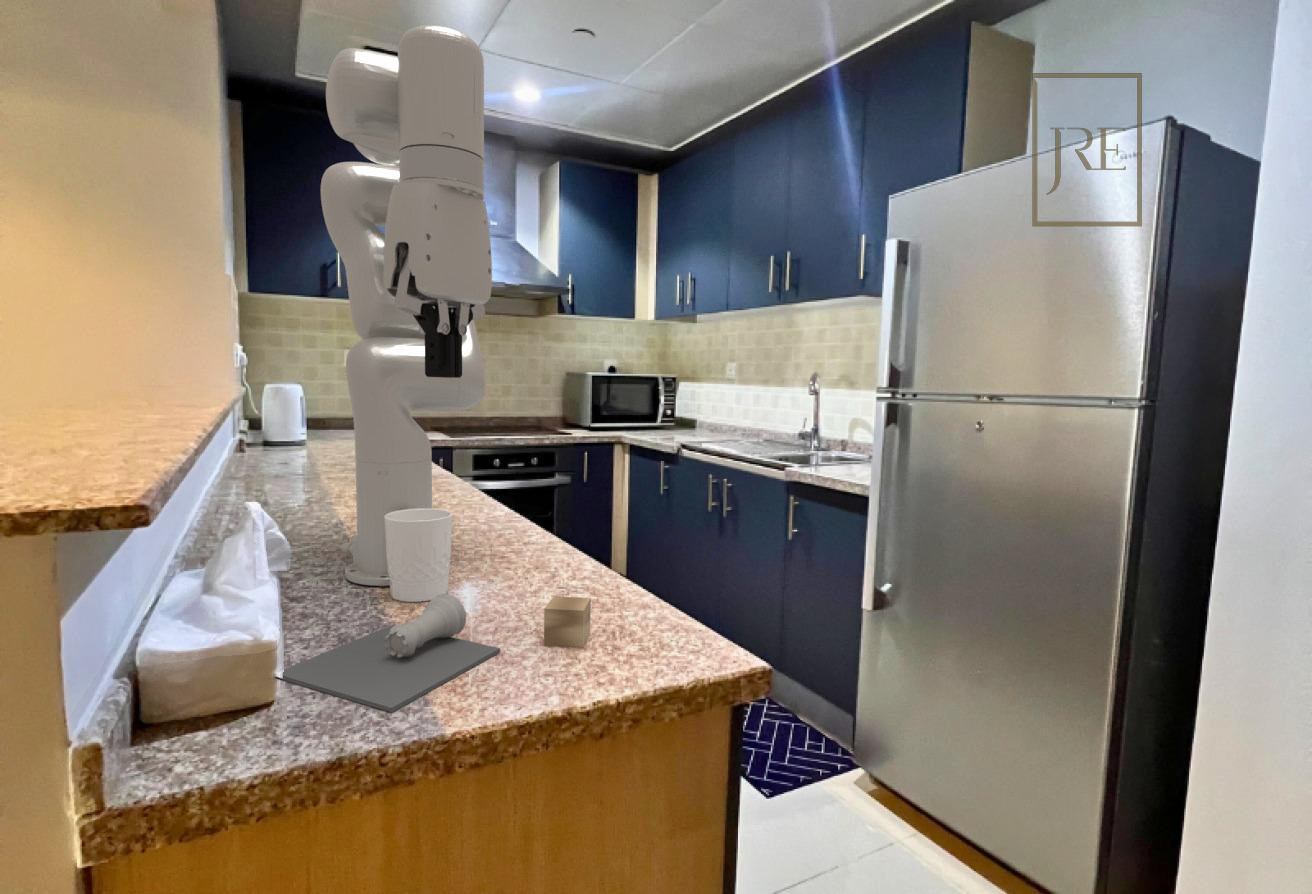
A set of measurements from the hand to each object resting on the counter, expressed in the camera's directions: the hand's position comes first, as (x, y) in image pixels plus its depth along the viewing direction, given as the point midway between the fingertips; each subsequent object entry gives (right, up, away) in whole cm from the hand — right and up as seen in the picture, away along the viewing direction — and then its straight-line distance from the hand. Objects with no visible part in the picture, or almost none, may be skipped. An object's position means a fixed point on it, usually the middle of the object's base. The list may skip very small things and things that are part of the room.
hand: (443, 376), depth 67 cm
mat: (-4, -27, -1) cm, 27 cm away
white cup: (-9, -25, +20) cm, 33 cm away
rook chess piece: (-1, -24, +6) cm, 24 cm away
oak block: (+11, -27, +6) cm, 30 cm away
